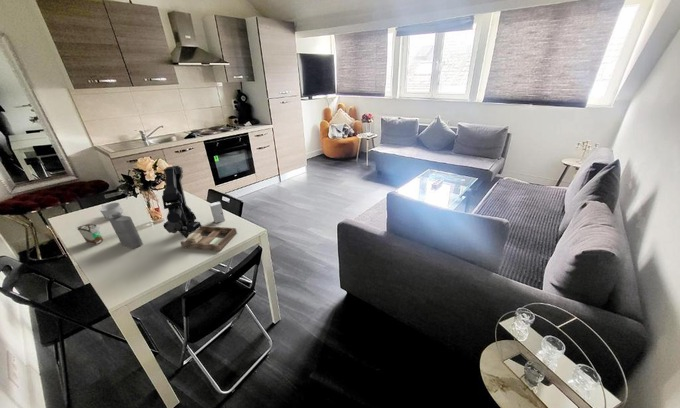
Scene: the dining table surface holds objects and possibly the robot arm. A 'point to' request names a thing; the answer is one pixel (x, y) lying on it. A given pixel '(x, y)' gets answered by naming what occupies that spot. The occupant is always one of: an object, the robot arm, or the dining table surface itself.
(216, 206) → the skincare box
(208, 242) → the box
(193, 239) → the birch block
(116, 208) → the teacup
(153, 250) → the dining table surface
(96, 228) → the food container
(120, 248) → the dining table surface
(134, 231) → the flask
